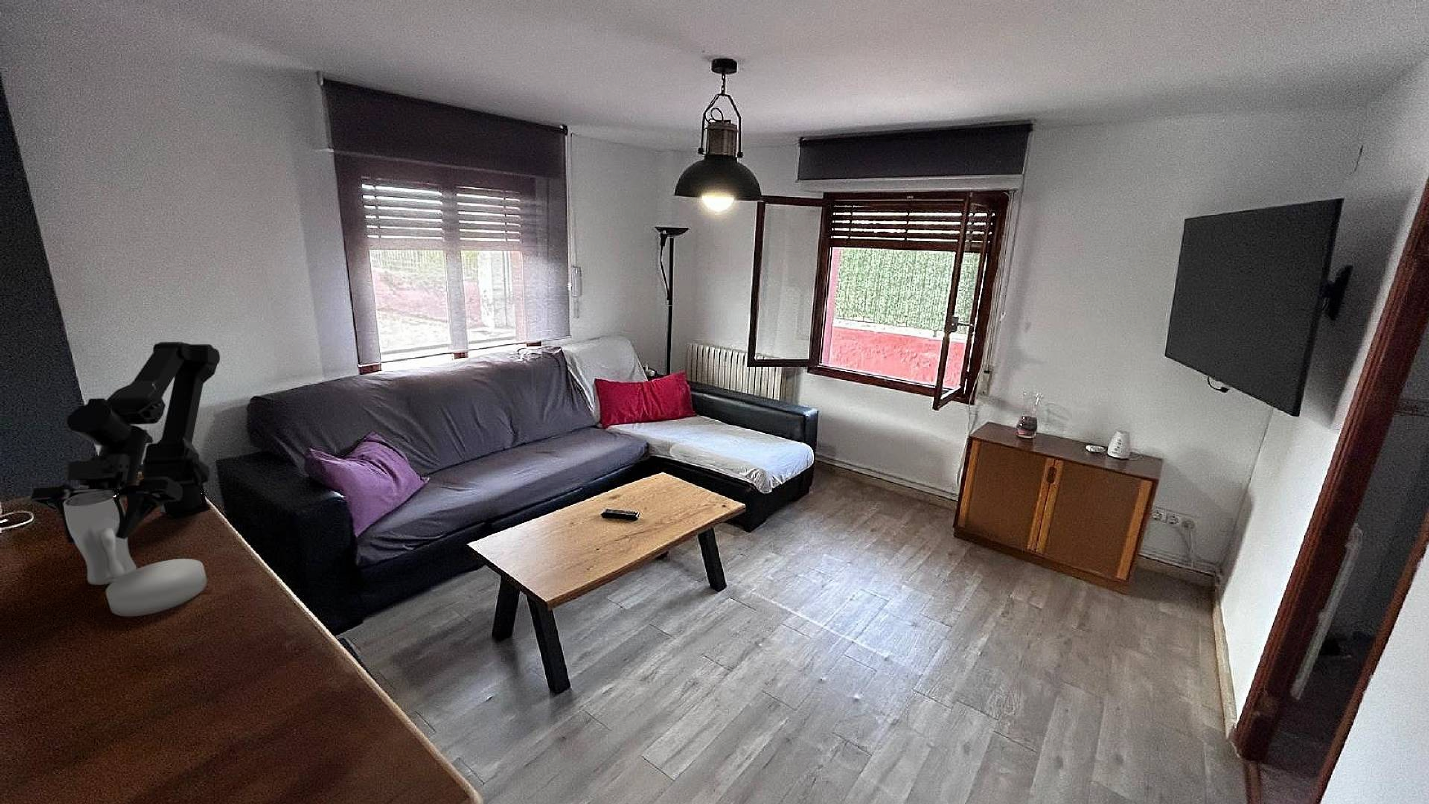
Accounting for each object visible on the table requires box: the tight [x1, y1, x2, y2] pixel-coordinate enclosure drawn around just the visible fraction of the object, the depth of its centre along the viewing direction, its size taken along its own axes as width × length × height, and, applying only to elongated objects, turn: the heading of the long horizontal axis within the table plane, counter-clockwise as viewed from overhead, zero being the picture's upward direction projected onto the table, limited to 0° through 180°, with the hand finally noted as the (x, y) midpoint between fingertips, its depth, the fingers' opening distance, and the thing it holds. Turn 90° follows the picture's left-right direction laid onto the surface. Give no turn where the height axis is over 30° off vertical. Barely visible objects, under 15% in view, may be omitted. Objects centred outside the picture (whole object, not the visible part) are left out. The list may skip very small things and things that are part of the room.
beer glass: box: [63, 490, 138, 586], centre depth 101 cm, size 7×7×15 cm
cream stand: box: [105, 558, 208, 617], centre depth 99 cm, size 12×12×3 cm
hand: (96, 540), depth 100 cm, fingers closed on beer glass, 6 cm apart
